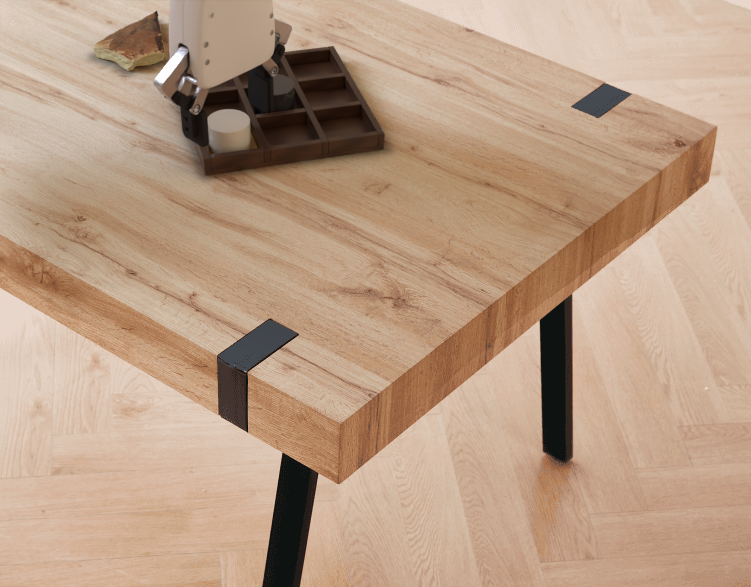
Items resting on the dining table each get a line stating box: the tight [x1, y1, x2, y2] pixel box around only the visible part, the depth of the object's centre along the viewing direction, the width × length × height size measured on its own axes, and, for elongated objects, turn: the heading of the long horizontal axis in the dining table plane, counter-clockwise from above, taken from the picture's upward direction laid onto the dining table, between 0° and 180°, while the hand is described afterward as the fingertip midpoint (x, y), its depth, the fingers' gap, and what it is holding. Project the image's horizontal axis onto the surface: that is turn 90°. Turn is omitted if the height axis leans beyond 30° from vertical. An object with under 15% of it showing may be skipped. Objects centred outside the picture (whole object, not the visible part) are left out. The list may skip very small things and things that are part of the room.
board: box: [176, 45, 386, 176], centre depth 117 cm, size 19×19×2 cm
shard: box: [93, 10, 167, 72], centre depth 126 cm, size 11×8×2 cm
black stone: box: [254, 74, 294, 115], centre depth 116 cm, size 4×4×3 cm
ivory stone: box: [207, 109, 251, 154], centre depth 110 cm, size 4×4×3 cm
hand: (229, 123), depth 109 cm, fingers open, 8 cm apart
